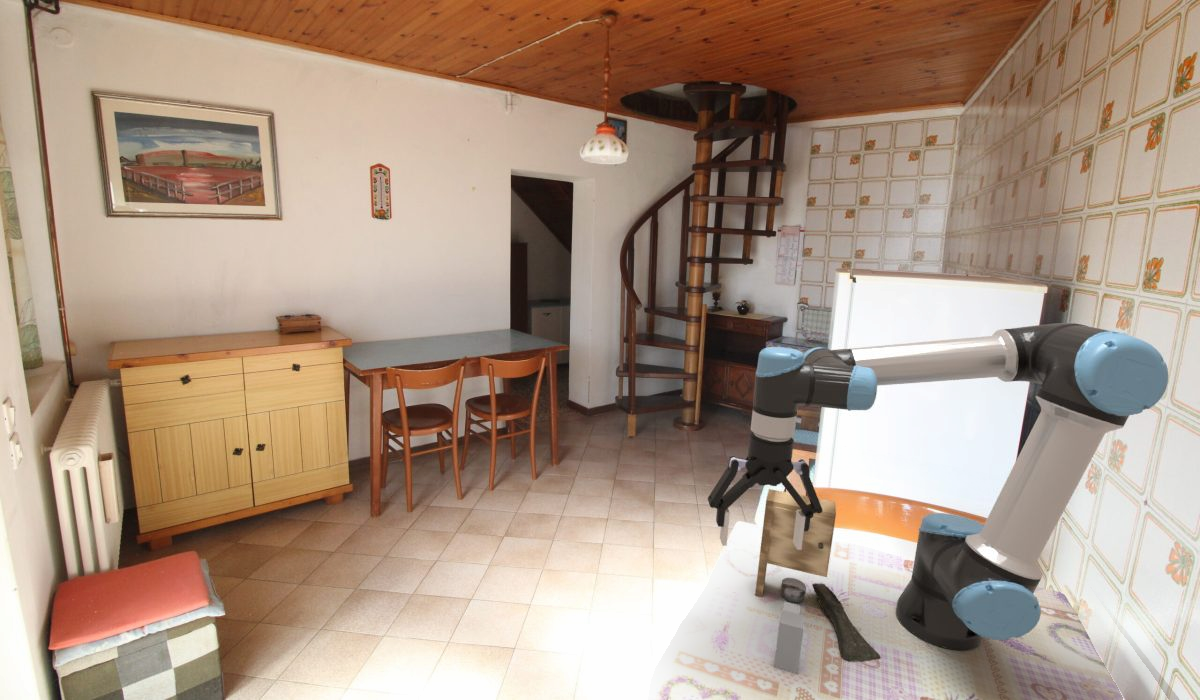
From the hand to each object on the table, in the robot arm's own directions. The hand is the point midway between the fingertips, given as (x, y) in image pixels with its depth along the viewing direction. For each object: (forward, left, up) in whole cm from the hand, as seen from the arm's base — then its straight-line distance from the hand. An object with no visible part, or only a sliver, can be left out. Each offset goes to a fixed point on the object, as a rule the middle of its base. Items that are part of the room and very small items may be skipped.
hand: (760, 544), depth 106 cm
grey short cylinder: (-7, -18, -20) cm, 28 cm away
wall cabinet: (-7, -18, -20) cm, 27 cm away
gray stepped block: (-7, -3, -20) cm, 21 cm away
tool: (-17, -12, -20) cm, 29 cm away
